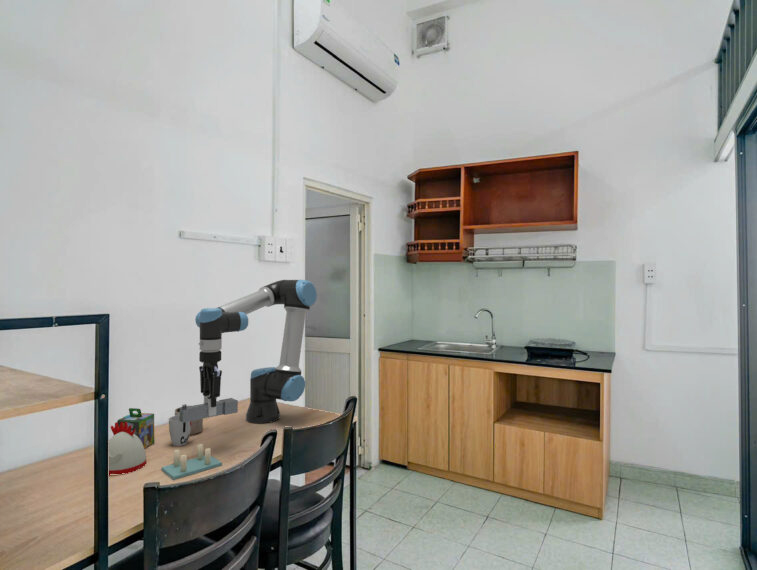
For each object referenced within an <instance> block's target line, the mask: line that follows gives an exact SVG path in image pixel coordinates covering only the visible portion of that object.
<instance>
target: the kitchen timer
mask: <svg viewBox="0 0 757 570" xmlns="http://www.w3.org/2000/svg"><path fill="white" fill-rule="evenodd" d="M131 427H132V425H131V426H129V427H128V425H127V422H125V424H124V427H123V422H121V423H120V426H118V423H117V421H116V422H114V426H113V425H110V430H111V431H112V432H111V433H112V434H113V436H111V438H110V439H108V441H109V475H108V476H111V475H110V474H122V473H127V474H129V473H128V472H131V473H134V472H137V471H139V470H141V469H142V468H144V467H145V466H146V465H145V464H147V454H146V450H145V448H144V447H143V444H142V442H141V440H140V439H139V438H138V437H137V436H136V435H135V434H134V433H135V430H136V429H134V430H133V431H132V432H131ZM143 466H144V467H143ZM138 469H139V470H138ZM136 470H137V471H136ZM133 471H134V472H133ZM122 475H123V474H122Z"/></svg>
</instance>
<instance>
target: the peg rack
mask: <svg viewBox="0 0 757 570" xmlns="http://www.w3.org/2000/svg"><path fill="white" fill-rule="evenodd" d="M211 451H212V450H211V448H210V447H207V448H205V449H204V443H198V444H197V455H196V456H197V457H194V458H191V459H188V455H187V454H180V453H181V449H175V450H173V463H171V464H168V465H164V466H161V471H162V472H163V473H164V474H165V475H167V476H168V477H169V478H170V479H172V481H175V480H177V479H181V478H184V477H188V476H191V475H194V474H199V473H200V472H205V471H207V470H211V469H215V468H218V467H220V466H223V462H222V461H220V460H219V459H217V458H215V457H213V456H212V455H211Z"/></svg>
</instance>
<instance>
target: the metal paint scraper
mask: <svg viewBox="0 0 757 570" xmlns="http://www.w3.org/2000/svg"><path fill="white" fill-rule="evenodd" d="M238 404H239V400H238V399H236V398H235V399H234V398H232V397H230V398H223V399H219V400H216V415H214V416H210V417H209V416H208V403H205V404H204V403H201V404H194V405H187V404H186V403H185V404H182V405H181V407H182V408H180V407H179V408H180V416H179V421H181V422H182V423H184V422H189V421H194V420H199V419H203V420H204V419H207V418H212V417H218V416H222V415H224V416H227V415H231V414H236V413H238V410H239V409H238V408H239V407H238V406H239V405H238ZM187 406H188V407H187Z"/></svg>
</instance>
